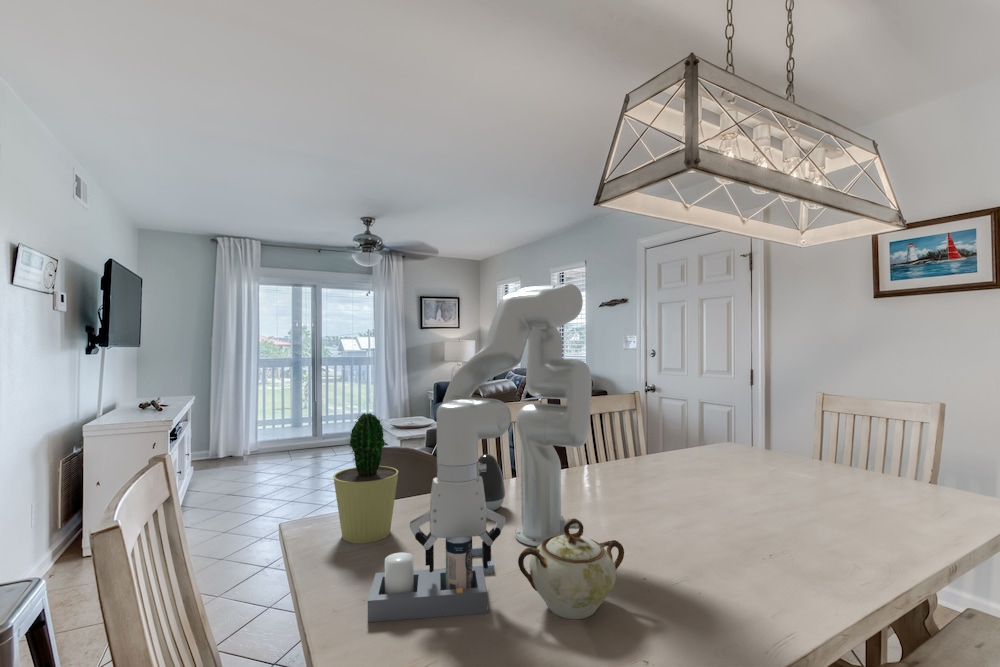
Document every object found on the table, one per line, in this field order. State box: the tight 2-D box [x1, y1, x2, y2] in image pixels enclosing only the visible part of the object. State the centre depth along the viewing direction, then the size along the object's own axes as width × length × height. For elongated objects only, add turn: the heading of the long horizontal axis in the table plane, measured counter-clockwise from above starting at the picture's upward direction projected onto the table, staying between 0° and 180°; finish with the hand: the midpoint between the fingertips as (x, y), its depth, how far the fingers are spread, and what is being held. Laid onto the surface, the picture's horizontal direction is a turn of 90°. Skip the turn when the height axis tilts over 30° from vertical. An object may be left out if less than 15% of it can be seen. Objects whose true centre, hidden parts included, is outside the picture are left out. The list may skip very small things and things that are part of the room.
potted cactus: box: [332, 412, 399, 544], centre depth 118 cm, size 15×15×30 cm
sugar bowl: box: [517, 518, 625, 620], centre depth 85 cm, size 20×15×15 cm
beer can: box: [445, 537, 473, 590], centre depth 87 cm, size 5×5×12 cm
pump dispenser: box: [478, 453, 506, 512], centre depth 136 cm, size 10×10×15 cm
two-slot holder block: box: [367, 552, 489, 623], centre depth 86 cm, size 20×10×8 cm, turn 97°
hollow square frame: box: [472, 546, 494, 574], centre depth 101 cm, size 9×9×2 cm
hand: (458, 567), depth 87 cm, fingers open, 9 cm apart
